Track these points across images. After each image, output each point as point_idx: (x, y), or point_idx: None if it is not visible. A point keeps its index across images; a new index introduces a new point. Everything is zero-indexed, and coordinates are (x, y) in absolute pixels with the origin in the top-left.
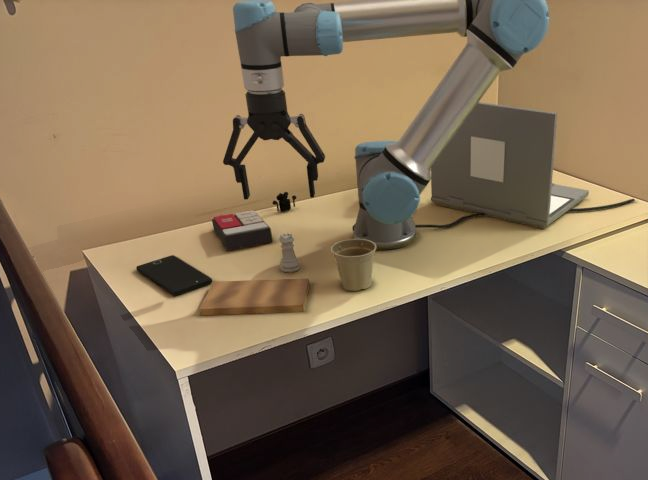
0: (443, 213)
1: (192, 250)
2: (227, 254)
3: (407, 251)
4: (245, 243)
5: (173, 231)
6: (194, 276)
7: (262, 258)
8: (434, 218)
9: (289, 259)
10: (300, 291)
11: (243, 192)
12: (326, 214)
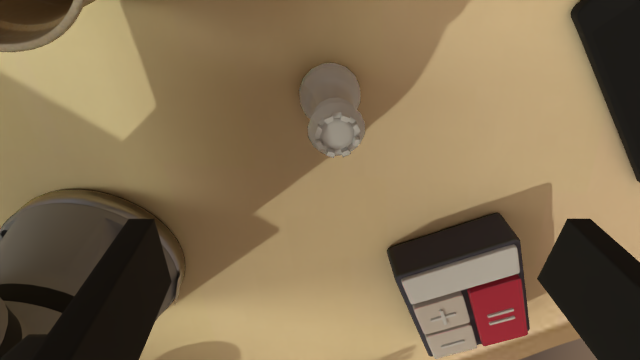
0: None
1: None
2: (499, 195)
3: (7, 178)
4: (455, 233)
5: None
6: (627, 36)
7: (411, 167)
8: None
9: (328, 85)
10: None
11: (624, 251)
12: (276, 357)
